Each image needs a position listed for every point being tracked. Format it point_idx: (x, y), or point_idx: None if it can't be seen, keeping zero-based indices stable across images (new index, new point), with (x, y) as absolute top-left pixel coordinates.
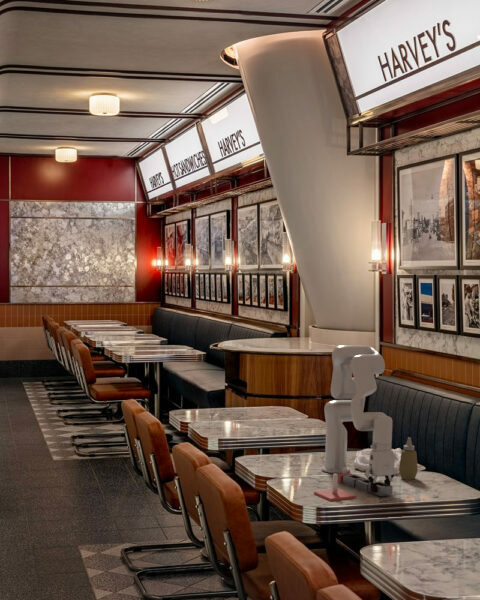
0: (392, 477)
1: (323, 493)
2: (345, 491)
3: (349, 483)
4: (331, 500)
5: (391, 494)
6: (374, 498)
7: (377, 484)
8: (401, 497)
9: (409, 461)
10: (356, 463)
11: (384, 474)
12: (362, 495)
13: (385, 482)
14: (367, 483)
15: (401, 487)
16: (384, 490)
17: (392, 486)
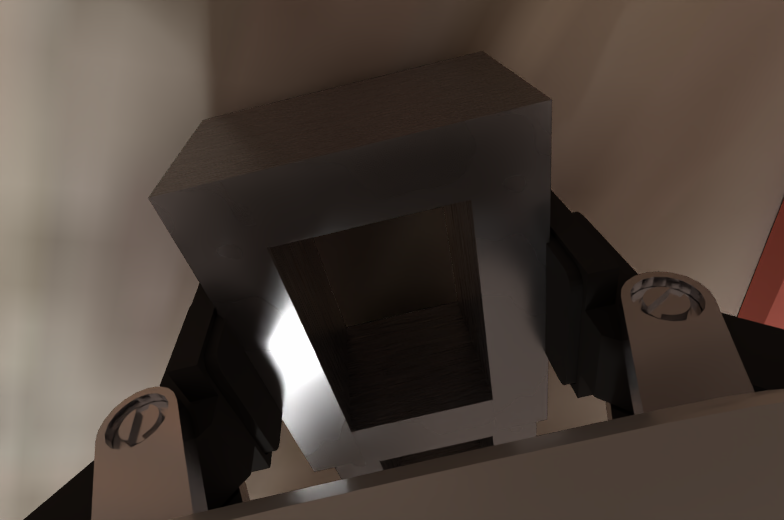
0: (58, 503)
1: None
2: (767, 318)
3: None
4: None
5: (221, 116)
6: (575, 41)
7: (393, 393)
8: (21, 19)
9: None
10: None
11: (456, 517)
12: (619, 230)
13: (265, 401)
14: (499, 437)
15: (5, 469)
16: (398, 106)
17: (158, 189)
